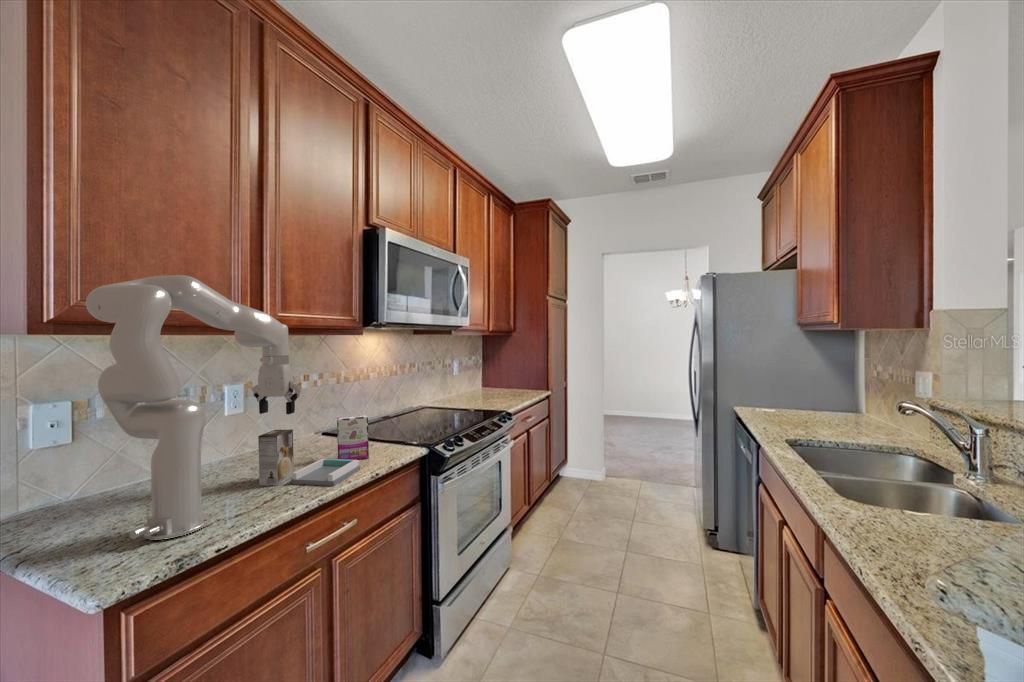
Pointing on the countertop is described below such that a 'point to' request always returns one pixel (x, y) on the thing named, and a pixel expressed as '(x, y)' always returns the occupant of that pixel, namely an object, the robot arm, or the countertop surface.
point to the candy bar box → (353, 437)
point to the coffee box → (275, 457)
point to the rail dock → (325, 472)
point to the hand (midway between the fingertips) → (277, 413)
